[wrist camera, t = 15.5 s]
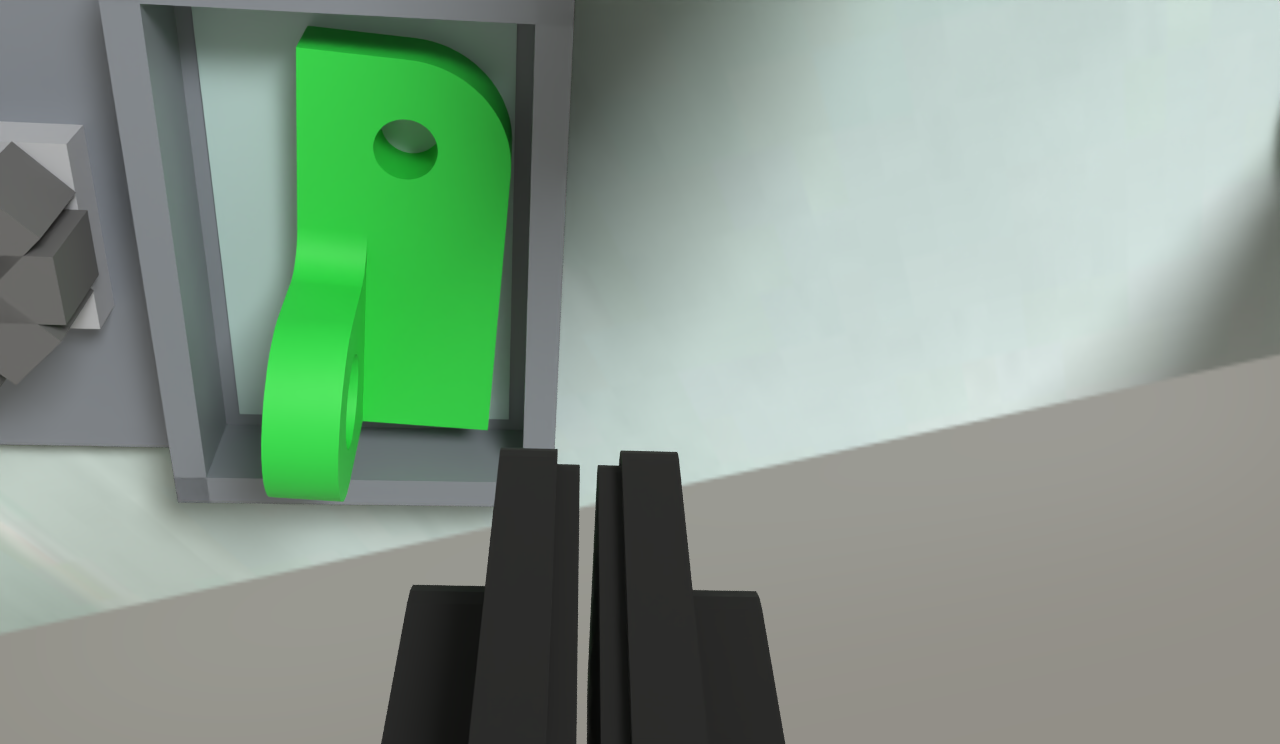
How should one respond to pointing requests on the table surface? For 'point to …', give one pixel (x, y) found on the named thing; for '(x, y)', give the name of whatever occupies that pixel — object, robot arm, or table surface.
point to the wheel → (39, 262)
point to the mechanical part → (385, 255)
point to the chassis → (258, 228)
